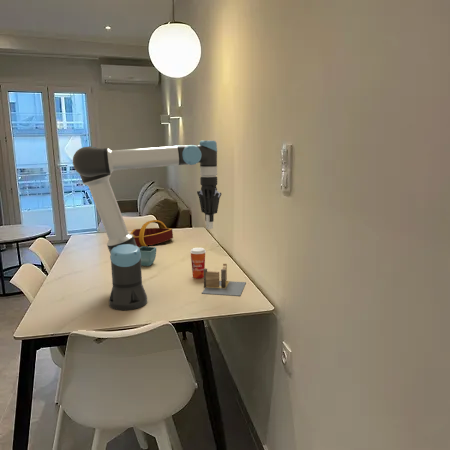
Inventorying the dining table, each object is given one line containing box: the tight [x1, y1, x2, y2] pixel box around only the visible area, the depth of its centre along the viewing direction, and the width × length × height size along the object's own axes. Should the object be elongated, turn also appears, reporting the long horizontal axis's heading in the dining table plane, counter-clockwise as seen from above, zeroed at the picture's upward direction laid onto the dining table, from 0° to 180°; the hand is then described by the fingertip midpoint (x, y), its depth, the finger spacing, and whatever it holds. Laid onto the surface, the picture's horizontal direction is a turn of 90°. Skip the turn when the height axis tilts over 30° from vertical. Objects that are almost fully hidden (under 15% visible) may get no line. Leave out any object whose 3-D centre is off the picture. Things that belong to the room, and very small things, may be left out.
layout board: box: [201, 280, 246, 297], centre depth 178 cm, size 17×17×1 cm
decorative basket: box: [129, 219, 174, 247], centre depth 265 cm, size 34×29×15 cm
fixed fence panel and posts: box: [203, 268, 227, 288], centre depth 178 cm, size 2×10×8 cm, turn 79°
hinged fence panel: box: [222, 263, 228, 281], centre depth 183 cm, size 9×2×8 cm, turn 176°
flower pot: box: [139, 246, 157, 267], centre depth 213 cm, size 9×9×9 cm
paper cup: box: [189, 247, 207, 280], centre depth 192 cm, size 8×8×14 cm
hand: (209, 228), depth 178 cm, fingers closed
